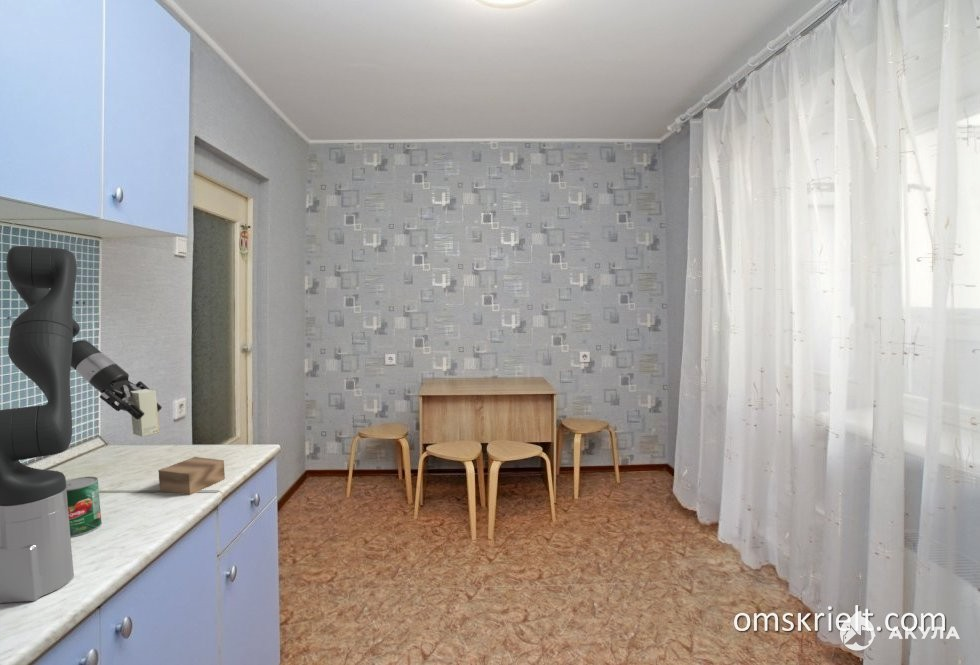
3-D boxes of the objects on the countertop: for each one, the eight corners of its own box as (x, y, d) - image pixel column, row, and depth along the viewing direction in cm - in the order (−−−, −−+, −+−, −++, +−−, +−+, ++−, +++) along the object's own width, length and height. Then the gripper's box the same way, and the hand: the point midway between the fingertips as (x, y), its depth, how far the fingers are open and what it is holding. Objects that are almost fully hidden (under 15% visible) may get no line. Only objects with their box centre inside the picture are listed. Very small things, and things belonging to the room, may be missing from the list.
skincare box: (160, 433, 127) (157, 390, 127) (141, 437, 124) (138, 393, 123) (149, 430, 131) (147, 388, 130) (131, 434, 127) (128, 391, 126)
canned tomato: (97, 517, 110) (94, 473, 109) (105, 527, 105) (101, 481, 104) (52, 531, 104) (48, 484, 103) (58, 542, 99) (54, 493, 98)
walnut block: (190, 495, 123) (188, 474, 122) (159, 491, 126) (158, 470, 125) (224, 480, 133) (223, 460, 133) (196, 476, 136) (194, 456, 136)
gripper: (91, 366, 118) (142, 409, 120) (130, 359, 132) (175, 398, 134) (71, 387, 118) (122, 430, 120) (112, 378, 132) (157, 416, 134)
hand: (150, 413), depth 127 cm, fingers closed on skincare box, 7 cm apart
